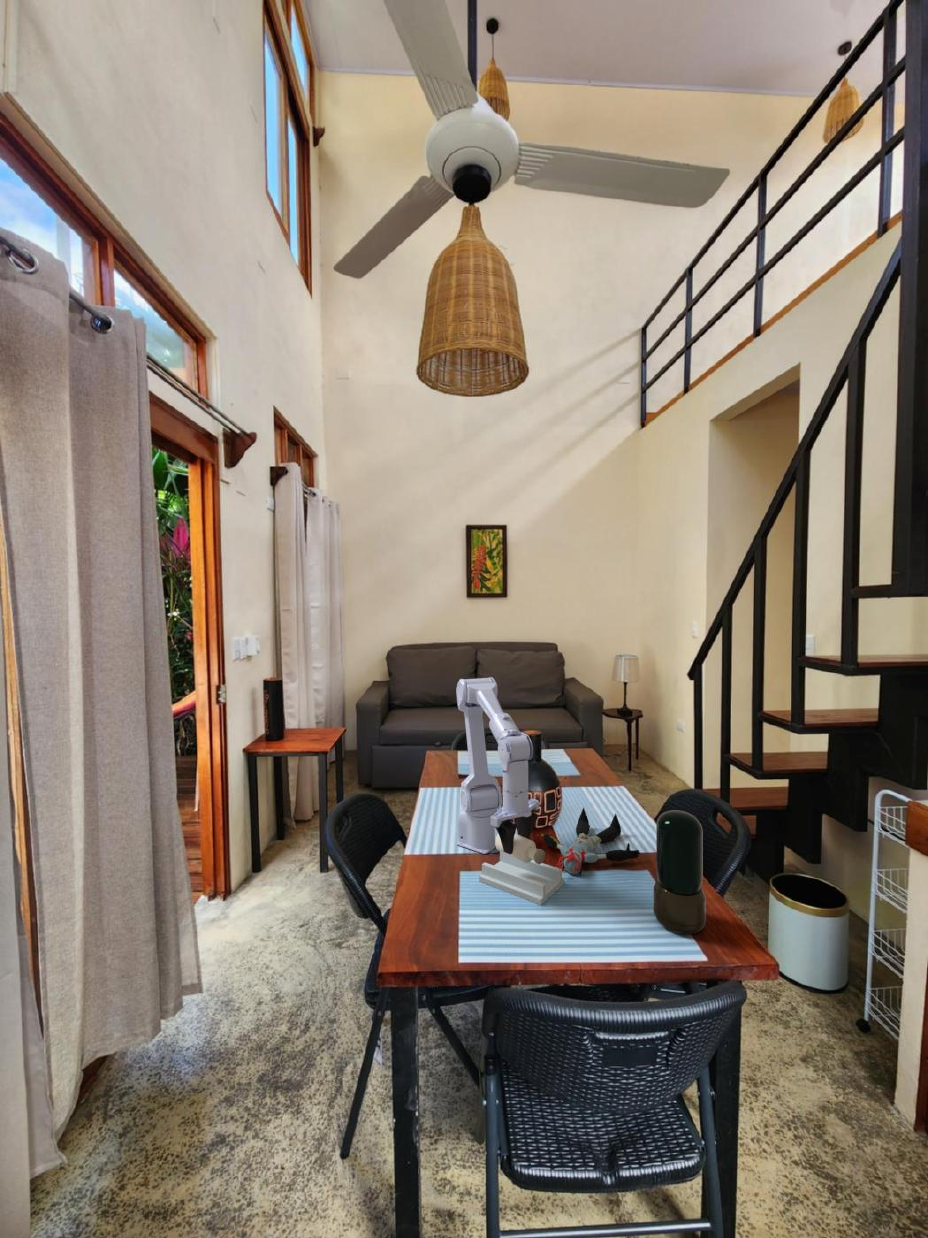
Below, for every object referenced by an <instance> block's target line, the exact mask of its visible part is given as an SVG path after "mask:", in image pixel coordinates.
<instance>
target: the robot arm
mask: <svg viewBox="0 0 928 1238" xmlns="http://www.w3.org/2000/svg"><path fill="white" fill-rule="evenodd" d="M497 683H498V682H496V679H494V677H492V676H490V677H482V678H467V679H464V678H460V679H459V681H458V682H457V683H456V684H457V685H456V691H455V692H456V703H457V708H458V710H459V711H460V712H463V717H464V723H465V724H464V725H465V733H466V744H467V754H468V765H469V775H468V776H467V777H466V778H464V780H463V781H462V782H461V786H460V804H461V809H462V810H461V811H460V812H459V816H458V821H457V822H458V823H457V826H458V827H457V829H458V830H457V831H458V833H457V836H458V837H457V839H458V841H457V842H456V846H460V847H462V848H465V849H469V850H472V851H474V852H476V853H480V854H483V855H486V854H488V853H490V852H491V851H493V850H494V849H496V846H495V840H496V832H497V835H498V834H499V836H500V839H501V843H502V846H503V851H504V852H506V853H508V854H512V853H513V844H514V836H515V834H516V831H517V835H520V836H522V837H525V838H527V839H529V840H531V839H530V838H531V835H532V831H533V828H534V826H535V824H536V822H537V820H538V817H539V815H538V813H536V812H534V811H538V810H539V809H540V801H539V800H537V799H535V798H530V799H529V761H531V759H532V758H533V755H534V754H533V753H534V746H533V741H532V740H531V738H530V736H529V735H528V734H527V733H524V732H523V731H520V729H519V728H518V727H517V724H516V723H515V722H514V720H513V718H512V716H511V715H510V714H509V713H506V712H504V709H503V708H502V706H501V703H500V702H499V699H498V691H499V690H498V684H497ZM484 712H485V715H487V717H488V718H489V723H488V727H489V729H490V732H491V733H492V735H493V737H494V739H495V740H496V741H495V742H496V743H497V745H498V746H497V752H498V755H499V761H500V764H499V766H500V769H501V770H502V791H501V788H500V784H499V781H498V779H497V778H496V777H495V776H493V775H491V774H490V773H489V766H488V765H489V764H488V755H487V747H486V738H485V727H484V718H483V713H484ZM501 792H502V793H501ZM501 805H502V807H501ZM498 809H499V810H498ZM513 819H515V820H516V824H514V823H513V822H512V821H511V820H513Z"/></svg>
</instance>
